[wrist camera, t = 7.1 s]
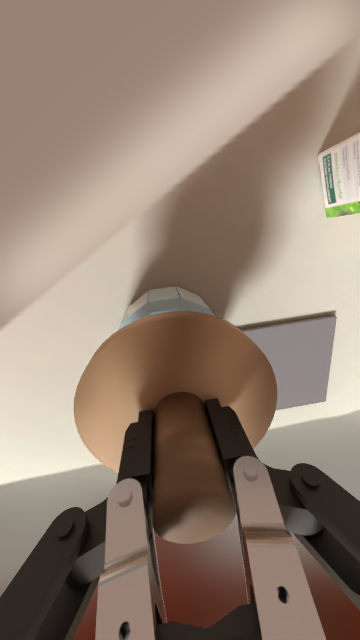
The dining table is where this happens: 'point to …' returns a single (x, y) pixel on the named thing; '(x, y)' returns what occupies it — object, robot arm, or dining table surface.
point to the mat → (298, 358)
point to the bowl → (164, 304)
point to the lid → (177, 410)
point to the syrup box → (341, 177)
